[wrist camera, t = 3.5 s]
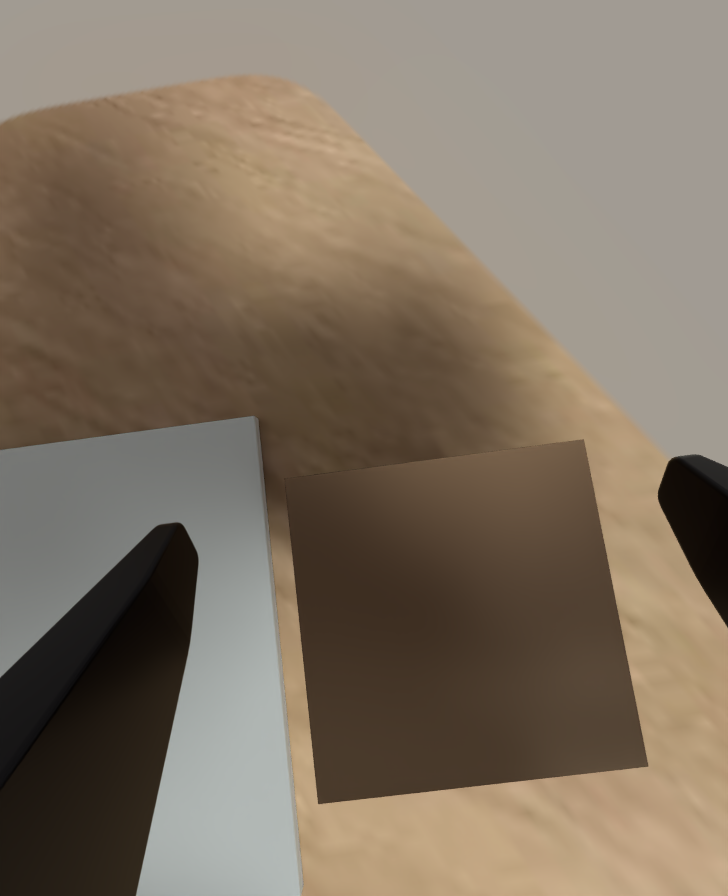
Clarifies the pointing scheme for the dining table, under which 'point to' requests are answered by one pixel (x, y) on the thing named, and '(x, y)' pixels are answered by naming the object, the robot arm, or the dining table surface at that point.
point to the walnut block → (459, 624)
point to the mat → (212, 640)
